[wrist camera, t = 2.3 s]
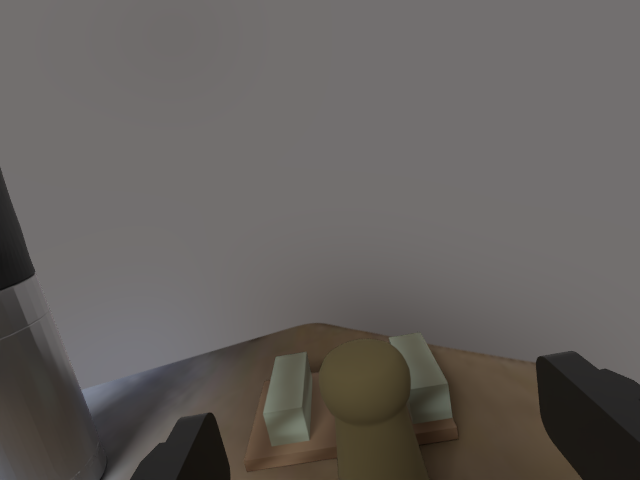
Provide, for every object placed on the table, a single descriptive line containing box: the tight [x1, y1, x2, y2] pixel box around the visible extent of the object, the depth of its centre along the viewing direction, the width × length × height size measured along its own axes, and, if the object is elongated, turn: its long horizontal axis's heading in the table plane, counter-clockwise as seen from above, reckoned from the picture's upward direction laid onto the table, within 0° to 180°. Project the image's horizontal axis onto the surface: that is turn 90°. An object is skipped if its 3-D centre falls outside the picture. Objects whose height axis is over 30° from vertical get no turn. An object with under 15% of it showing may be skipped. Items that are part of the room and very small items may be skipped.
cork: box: [319, 339, 430, 480], centre depth 22 cm, size 6×6×11 cm
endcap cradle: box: [244, 332, 459, 472], centre depth 32 cm, size 16×10×4 cm, turn 90°
